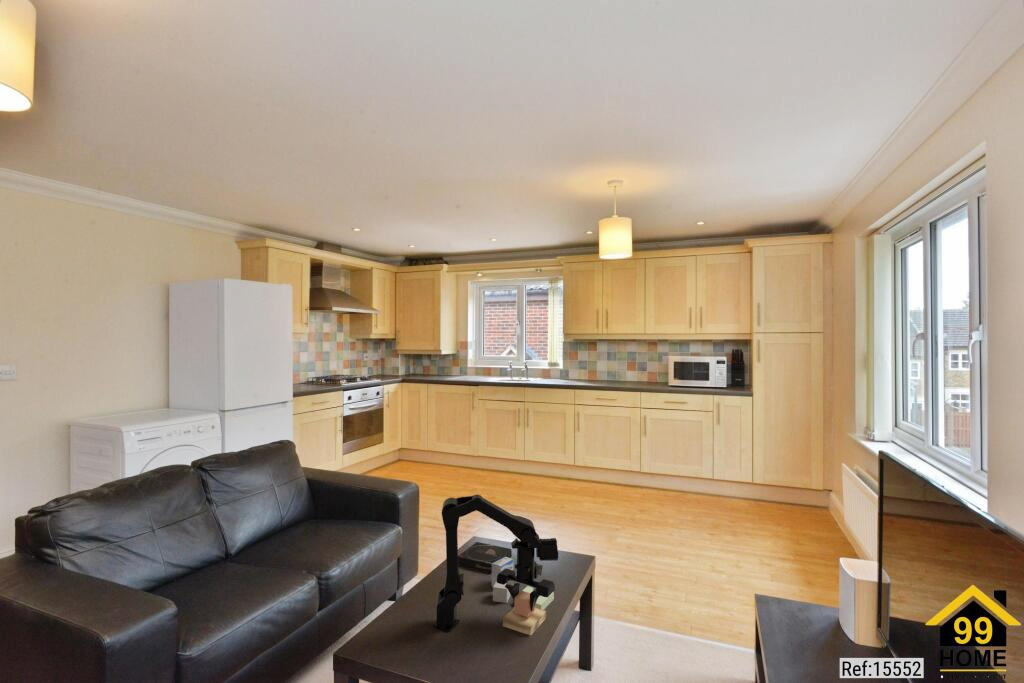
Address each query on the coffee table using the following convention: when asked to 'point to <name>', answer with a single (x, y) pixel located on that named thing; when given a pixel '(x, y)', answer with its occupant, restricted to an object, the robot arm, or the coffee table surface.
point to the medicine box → (501, 567)
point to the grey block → (500, 593)
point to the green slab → (541, 599)
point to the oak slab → (524, 621)
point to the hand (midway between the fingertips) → (524, 608)
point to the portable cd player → (482, 556)
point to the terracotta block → (523, 604)
